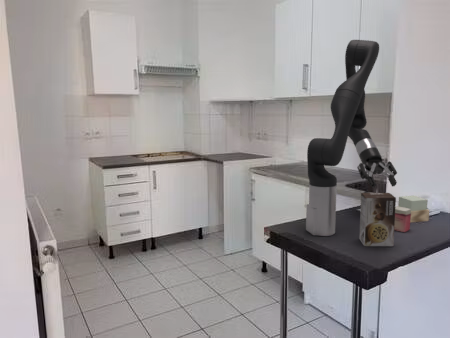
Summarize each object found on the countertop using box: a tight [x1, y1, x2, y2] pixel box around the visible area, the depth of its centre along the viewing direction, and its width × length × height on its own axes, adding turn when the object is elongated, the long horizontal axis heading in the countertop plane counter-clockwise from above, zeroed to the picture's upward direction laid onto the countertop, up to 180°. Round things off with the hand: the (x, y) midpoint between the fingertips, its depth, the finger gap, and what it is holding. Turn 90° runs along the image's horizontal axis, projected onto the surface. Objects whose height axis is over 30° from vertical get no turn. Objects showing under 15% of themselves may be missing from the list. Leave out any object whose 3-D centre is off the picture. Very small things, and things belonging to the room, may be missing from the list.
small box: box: [394, 205, 411, 233], centre depth 127 cm, size 5×4×8 cm
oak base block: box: [410, 208, 430, 224], centre depth 139 cm, size 8×8×4 cm
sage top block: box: [397, 195, 428, 211], centre depth 138 cm, size 7×7×4 cm
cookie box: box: [358, 192, 397, 247], centre depth 114 cm, size 9×6×16 cm
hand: (384, 186), depth 135 cm, fingers open, 8 cm apart
